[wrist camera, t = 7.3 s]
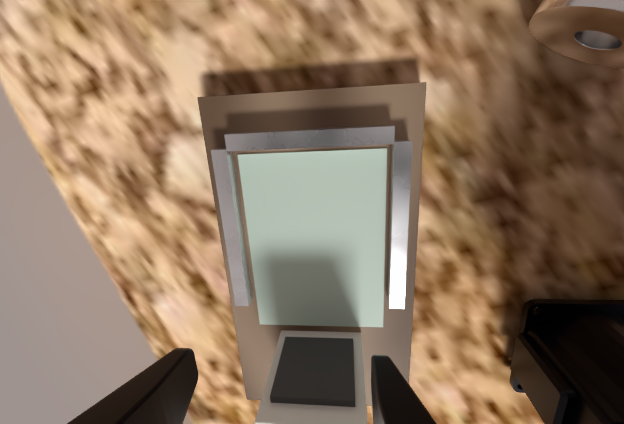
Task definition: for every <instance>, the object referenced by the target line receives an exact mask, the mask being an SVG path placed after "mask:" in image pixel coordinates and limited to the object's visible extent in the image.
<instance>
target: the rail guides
mask: <svg viewBox="0 0 624 424" xmlns="http://www.w3.org/2000/svg"><path fill="white" fill-rule="evenodd" d="M224 137H225V144H226V147H220V148H216V149H213V150H211V155H212V162H213V168H214V174H215V181H216V187H217V193H218V200H219V206H220V212H221V218H222V225H223V231H224V237H225V244H226V250H227V256H228V263H229V269H230V275H231V281H232V288H233V294H234V300H235V306H249V304H250V302H251V300H252V298H253V288H252V281H251V274H250V266H249V259H248V251H247V244H246V237H245V229H244V222H243V214H242V207H241V200H240V192H239V185H238V177H237V170H236V163H235V155H234V151H249V150H272V149H294V148H317V147H340V146H363V145H386V144H391V170H390V208H389V246H388V284H387V300H388V304H389V308H393V309H404V306H405V285H406V264H407V244H408V223H409V202H410V181H411V160H412V141H411V140H409V139H396V140H394V138H395V126H393V125H379V126H359V127H340V128H320V129H300V130H281V131H261V132H241V133H229V134H225V135H224Z"/></svg>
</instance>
